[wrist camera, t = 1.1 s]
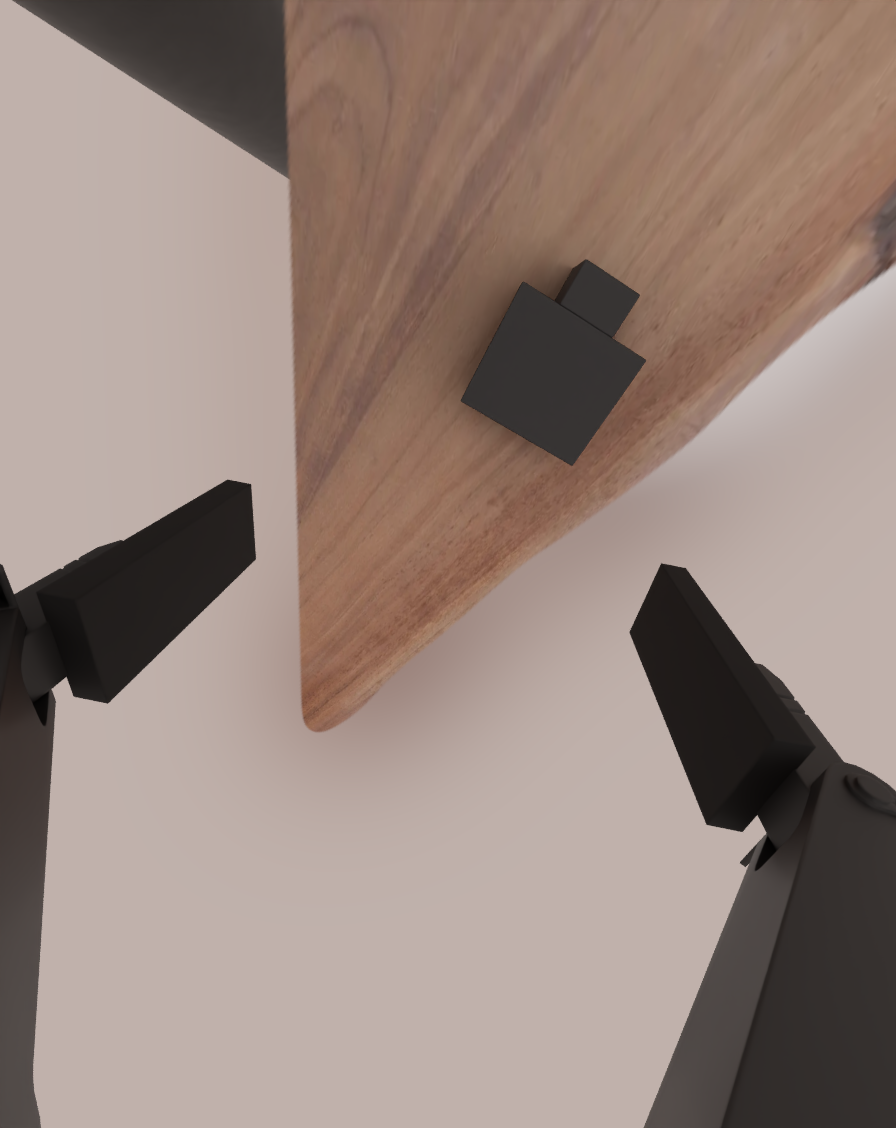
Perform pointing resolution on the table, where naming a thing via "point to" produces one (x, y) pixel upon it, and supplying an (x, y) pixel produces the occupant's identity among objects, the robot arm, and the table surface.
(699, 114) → the table surface
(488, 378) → the black block
